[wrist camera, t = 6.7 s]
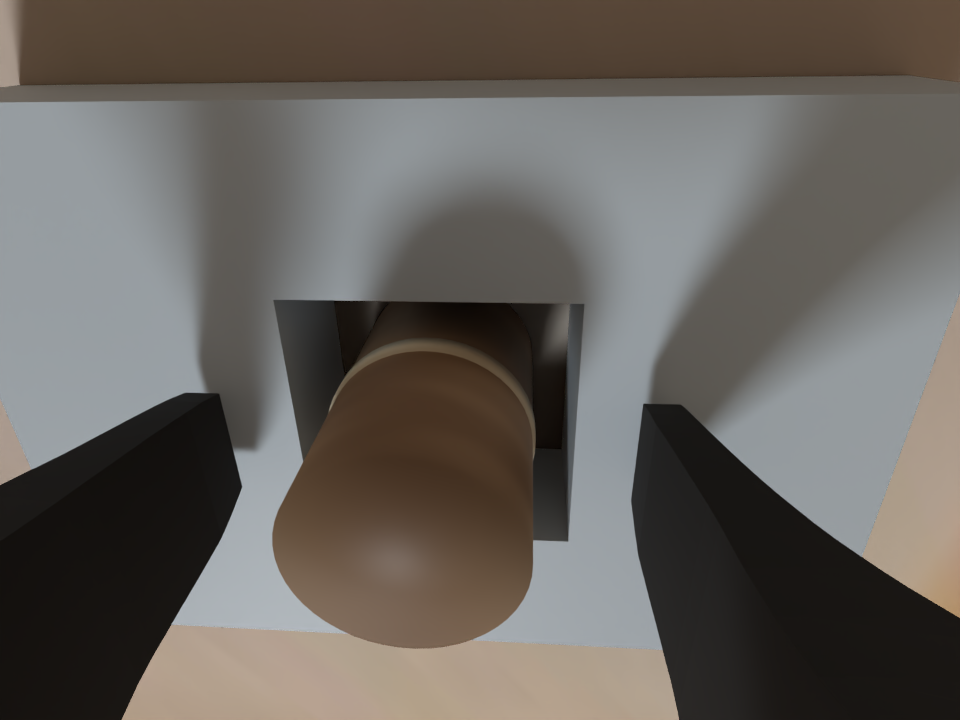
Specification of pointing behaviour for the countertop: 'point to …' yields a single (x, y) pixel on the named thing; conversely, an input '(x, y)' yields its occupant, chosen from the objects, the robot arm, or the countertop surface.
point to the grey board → (490, 284)
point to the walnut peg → (419, 481)
